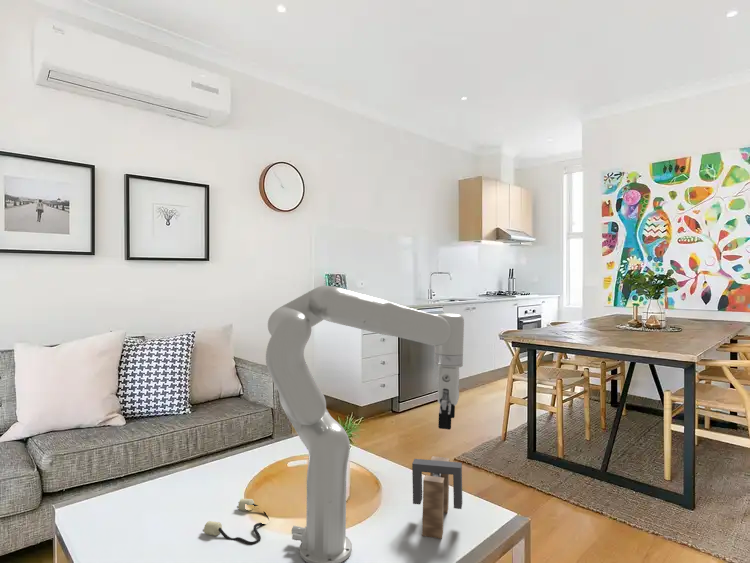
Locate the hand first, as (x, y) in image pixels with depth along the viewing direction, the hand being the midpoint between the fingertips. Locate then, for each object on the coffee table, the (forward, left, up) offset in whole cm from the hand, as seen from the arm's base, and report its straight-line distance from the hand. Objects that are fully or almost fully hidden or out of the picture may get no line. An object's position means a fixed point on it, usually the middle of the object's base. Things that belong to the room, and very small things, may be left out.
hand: (446, 422), depth 126 cm
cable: (-51, -16, -28) cm, 61 cm away
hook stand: (-2, 0, -27) cm, 27 cm away
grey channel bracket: (-2, 0, -22) cm, 22 cm away
